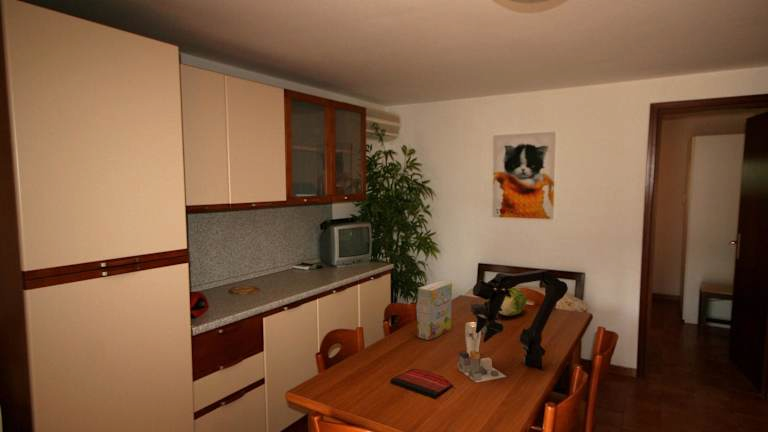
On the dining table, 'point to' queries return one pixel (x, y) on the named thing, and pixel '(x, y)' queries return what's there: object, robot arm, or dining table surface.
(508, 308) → the lettuce
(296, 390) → the dining table surface
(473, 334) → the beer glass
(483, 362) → the slider
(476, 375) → the panel
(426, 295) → the snack box
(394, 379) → the binder
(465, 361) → the black lever
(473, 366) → the orange lever
